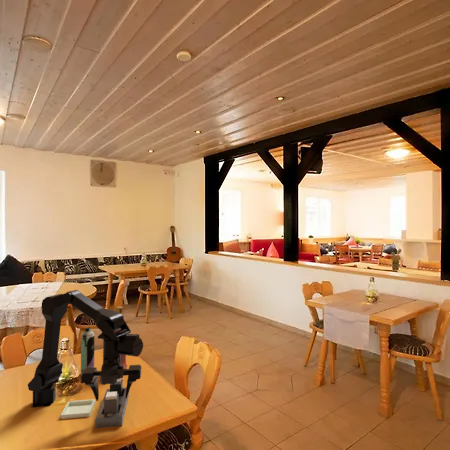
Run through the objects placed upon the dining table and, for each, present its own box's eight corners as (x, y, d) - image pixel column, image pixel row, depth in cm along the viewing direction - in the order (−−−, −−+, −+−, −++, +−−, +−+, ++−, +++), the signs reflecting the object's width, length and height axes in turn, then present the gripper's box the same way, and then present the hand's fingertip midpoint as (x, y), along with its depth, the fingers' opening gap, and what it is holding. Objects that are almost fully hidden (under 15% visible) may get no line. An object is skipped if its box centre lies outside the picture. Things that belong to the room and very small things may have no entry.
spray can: (93, 375, 148) (93, 329, 148) (80, 377, 146) (80, 330, 146) (94, 370, 153) (95, 325, 153) (81, 371, 151) (81, 326, 151)
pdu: (95, 429, 108) (95, 402, 108) (106, 398, 128) (106, 375, 128) (122, 427, 109) (122, 400, 109) (128, 396, 129) (128, 374, 129)
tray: (60, 420, 113) (60, 415, 113) (68, 406, 122) (68, 401, 122) (89, 417, 115) (89, 412, 115) (95, 403, 124) (95, 399, 124)
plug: (103, 422, 111) (104, 397, 111) (106, 415, 115) (106, 391, 115) (116, 421, 112) (116, 396, 112) (118, 414, 116) (118, 390, 116)
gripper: (76, 363, 104) (75, 415, 104) (139, 359, 107) (138, 409, 107) (84, 350, 115) (84, 397, 115) (141, 347, 118) (141, 392, 118)
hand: (112, 399), depth 114 cm, fingers open, 9 cm apart
